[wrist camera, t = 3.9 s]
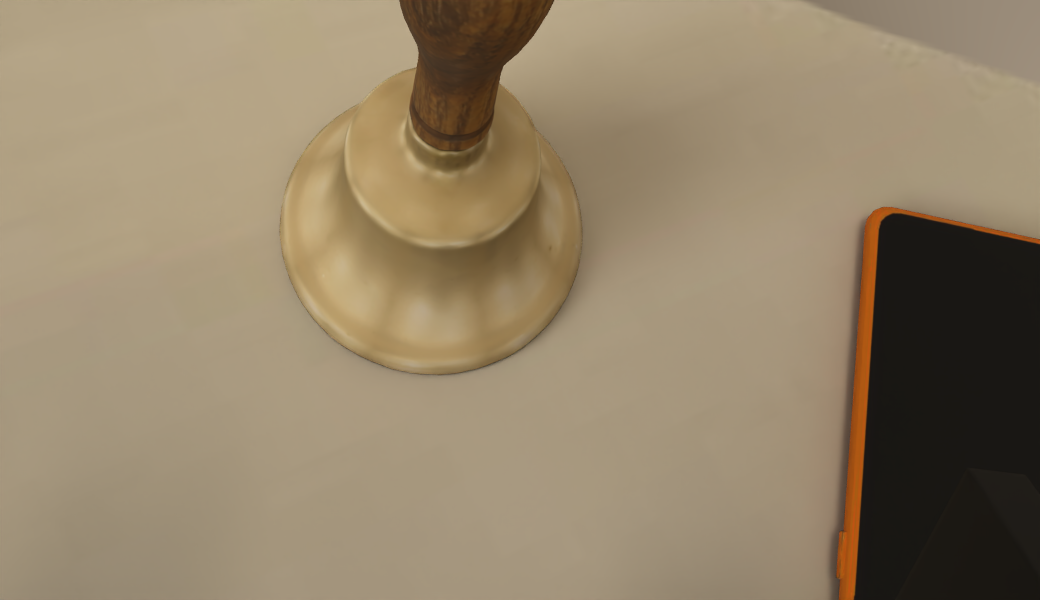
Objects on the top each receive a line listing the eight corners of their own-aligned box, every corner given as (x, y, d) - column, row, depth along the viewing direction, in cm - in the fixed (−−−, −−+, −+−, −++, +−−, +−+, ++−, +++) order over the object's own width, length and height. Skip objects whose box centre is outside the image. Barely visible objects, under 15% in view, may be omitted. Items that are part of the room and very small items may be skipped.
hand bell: (281, 88, 26) (128, -546, 11) (570, 91, 27) (809, -471, 12) (279, 380, 24) (90, 125, 9) (590, 370, 25) (908, 131, 10)
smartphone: (1090, 258, 28) (1111, 250, 27) (1086, 864, 24) (1111, 876, 23) (857, 207, 27) (872, 197, 27) (809, 822, 23) (825, 834, 22)
